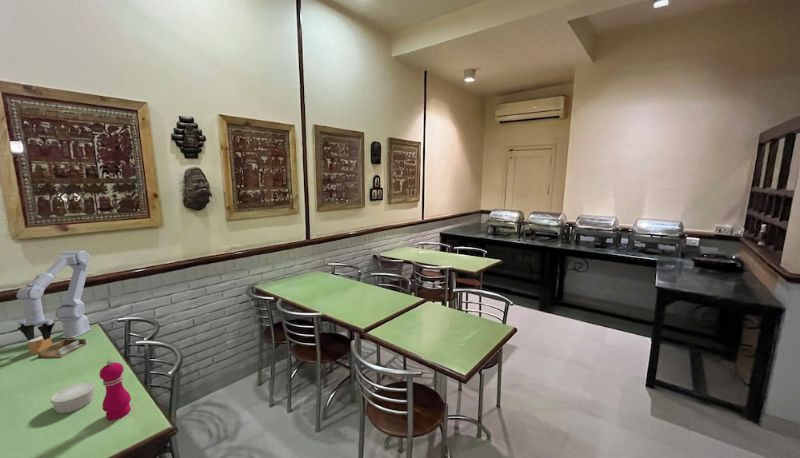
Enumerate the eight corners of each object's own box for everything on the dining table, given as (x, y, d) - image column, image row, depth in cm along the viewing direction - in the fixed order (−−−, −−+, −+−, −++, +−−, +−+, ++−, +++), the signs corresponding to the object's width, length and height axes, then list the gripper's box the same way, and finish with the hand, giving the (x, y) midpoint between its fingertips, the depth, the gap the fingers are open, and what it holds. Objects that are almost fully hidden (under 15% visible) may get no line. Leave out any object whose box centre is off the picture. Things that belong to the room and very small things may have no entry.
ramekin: (64, 398, 118) (62, 385, 117) (103, 391, 122) (100, 378, 121) (44, 419, 107) (41, 405, 107) (86, 411, 111) (84, 397, 110)
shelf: (66, 344, 157) (65, 339, 157) (86, 344, 157) (85, 338, 157) (38, 357, 145) (37, 352, 145) (60, 357, 145) (59, 351, 145)
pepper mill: (99, 419, 107) (89, 364, 104) (123, 404, 114) (114, 352, 111) (114, 423, 105) (104, 367, 102) (137, 408, 112) (129, 355, 109)
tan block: (44, 347, 155) (41, 335, 154) (52, 347, 155) (50, 335, 154) (30, 354, 149) (27, 341, 148) (38, 354, 149) (36, 341, 148)
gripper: (7, 315, 145) (13, 343, 147) (39, 315, 145) (45, 343, 147) (25, 309, 152) (31, 335, 154) (56, 308, 152) (61, 335, 154)
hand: (39, 338), depth 151 cm, fingers open, 7 cm apart
